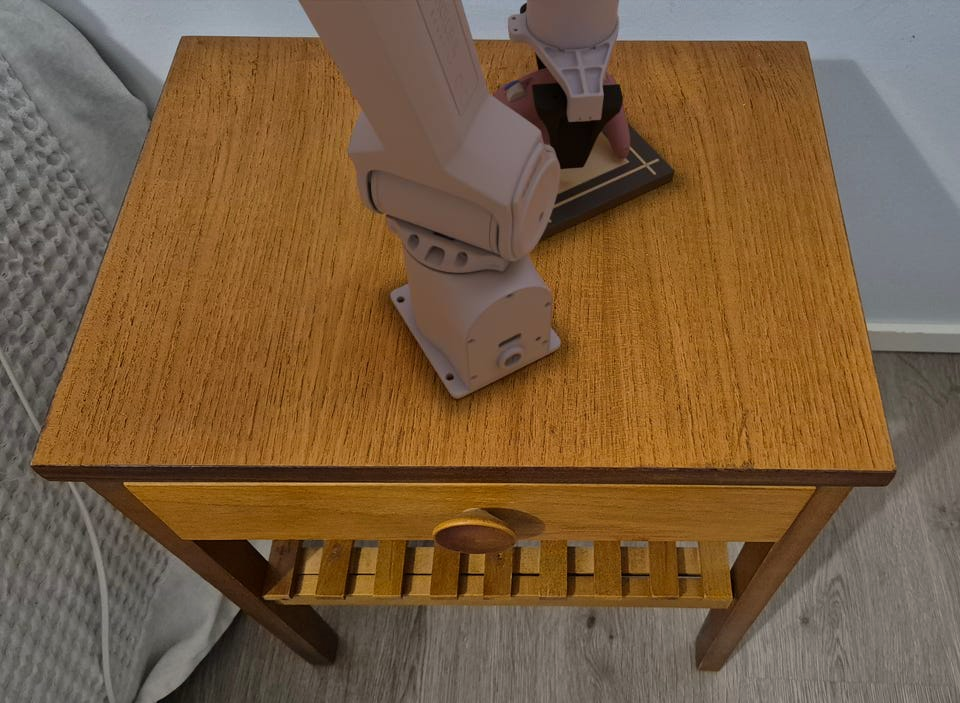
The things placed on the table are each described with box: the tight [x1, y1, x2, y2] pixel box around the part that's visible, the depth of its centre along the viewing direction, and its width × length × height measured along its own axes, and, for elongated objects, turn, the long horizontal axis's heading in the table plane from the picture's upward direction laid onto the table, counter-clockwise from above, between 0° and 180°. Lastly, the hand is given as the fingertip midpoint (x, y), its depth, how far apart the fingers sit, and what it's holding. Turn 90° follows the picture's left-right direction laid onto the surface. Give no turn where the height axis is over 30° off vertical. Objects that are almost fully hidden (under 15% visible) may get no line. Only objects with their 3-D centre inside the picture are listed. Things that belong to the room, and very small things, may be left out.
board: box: [539, 123, 675, 242], centre depth 61 cm, size 12×12×1 cm
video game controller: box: [492, 68, 630, 159], centre depth 58 cm, size 10×5×7 cm, turn 106°
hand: (563, 131), depth 59 cm, fingers closed on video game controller, 6 cm apart
